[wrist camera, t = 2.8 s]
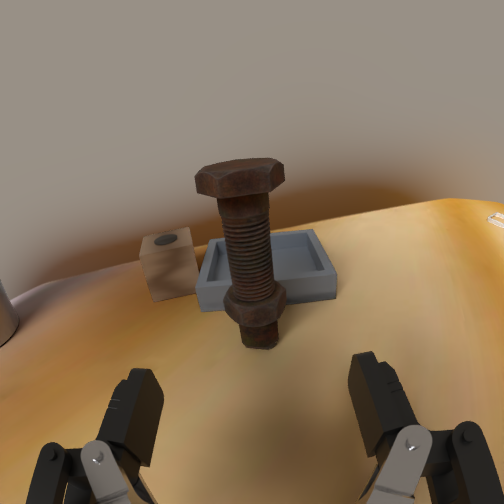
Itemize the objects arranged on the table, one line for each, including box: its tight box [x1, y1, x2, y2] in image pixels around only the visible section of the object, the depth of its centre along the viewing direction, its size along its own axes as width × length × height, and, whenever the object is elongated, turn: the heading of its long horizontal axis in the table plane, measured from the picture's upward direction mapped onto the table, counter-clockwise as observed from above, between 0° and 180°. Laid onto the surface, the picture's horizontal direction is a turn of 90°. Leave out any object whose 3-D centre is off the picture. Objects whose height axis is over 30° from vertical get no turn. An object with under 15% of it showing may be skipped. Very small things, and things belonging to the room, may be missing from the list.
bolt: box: [195, 158, 287, 350], centre depth 21 cm, size 6×5×15 cm
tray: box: [195, 229, 337, 312], centre depth 33 cm, size 14×12×3 cm
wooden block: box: [139, 227, 199, 302], centre depth 33 cm, size 6×6×6 cm
